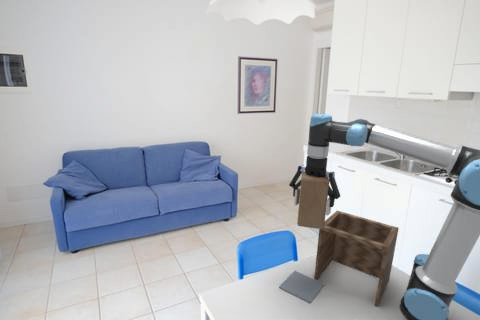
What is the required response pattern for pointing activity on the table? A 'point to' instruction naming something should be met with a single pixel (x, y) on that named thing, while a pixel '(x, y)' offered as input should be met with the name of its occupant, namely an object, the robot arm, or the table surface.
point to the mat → (302, 286)
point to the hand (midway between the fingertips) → (311, 209)
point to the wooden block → (313, 201)
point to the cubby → (357, 247)
